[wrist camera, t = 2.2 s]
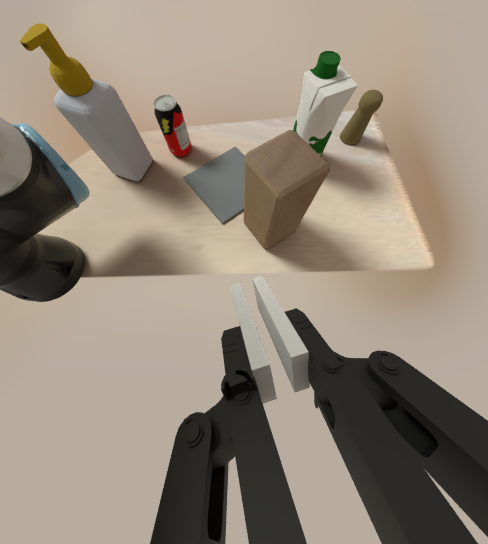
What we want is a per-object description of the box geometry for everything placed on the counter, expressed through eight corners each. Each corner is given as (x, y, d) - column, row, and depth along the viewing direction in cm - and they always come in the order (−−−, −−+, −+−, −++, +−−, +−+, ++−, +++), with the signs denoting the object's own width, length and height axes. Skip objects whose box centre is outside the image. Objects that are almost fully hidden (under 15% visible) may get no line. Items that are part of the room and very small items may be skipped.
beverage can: (184, 138, 55) (168, 89, 43) (196, 151, 53) (184, 103, 42) (166, 149, 53) (145, 101, 42) (178, 162, 52) (160, 116, 41)
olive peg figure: (358, 147, 54) (387, 104, 44) (338, 142, 55) (361, 99, 44) (360, 132, 56) (388, 88, 45) (341, 128, 56) (364, 83, 46)
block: (296, 231, 46) (335, 165, 27) (265, 252, 45) (282, 197, 26) (273, 203, 49) (292, 124, 29) (242, 222, 47) (241, 151, 28)
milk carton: (307, 142, 55) (342, 44, 35) (323, 164, 52) (370, 72, 33) (281, 152, 53) (303, 56, 34) (297, 175, 51) (330, 85, 32)
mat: (184, 178, 51) (183, 177, 50) (235, 148, 54) (235, 146, 53) (222, 224, 47) (222, 223, 46) (275, 188, 50) (275, 186, 49)
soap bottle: (111, 174, 51) (-8, 38, 27) (128, 151, 53) (32, 7, 29) (140, 184, 50) (44, 53, 26) (155, 160, 52) (81, 18, 28)
